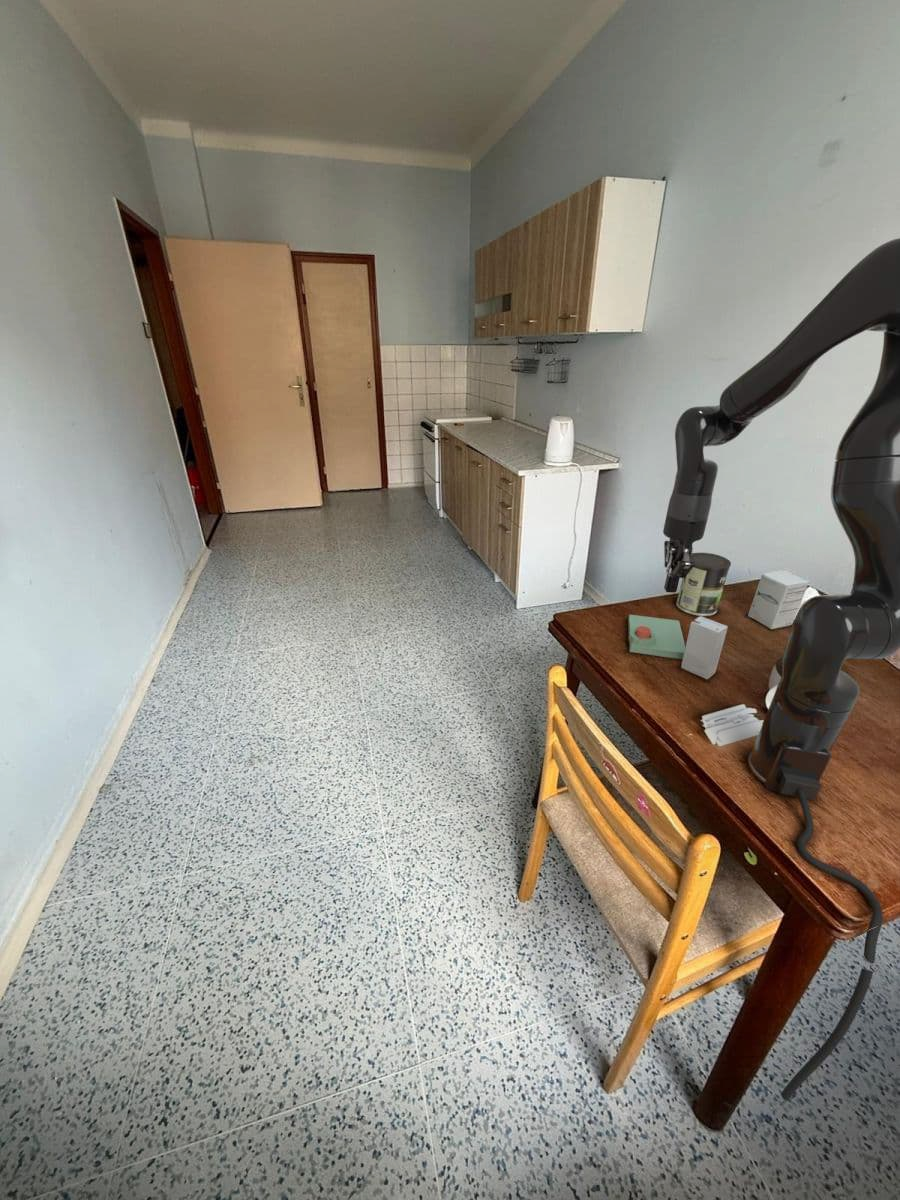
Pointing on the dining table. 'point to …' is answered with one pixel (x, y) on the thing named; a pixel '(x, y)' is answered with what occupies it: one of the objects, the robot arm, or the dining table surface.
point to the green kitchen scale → (656, 637)
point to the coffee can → (703, 584)
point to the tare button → (643, 632)
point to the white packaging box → (777, 599)
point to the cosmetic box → (703, 647)
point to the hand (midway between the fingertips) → (670, 590)
